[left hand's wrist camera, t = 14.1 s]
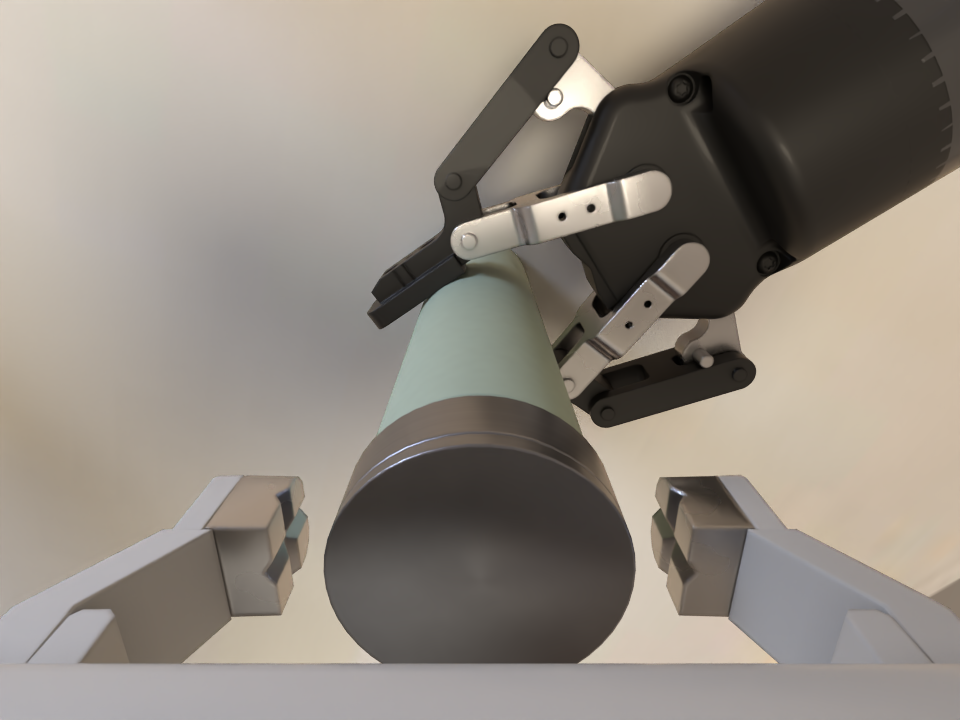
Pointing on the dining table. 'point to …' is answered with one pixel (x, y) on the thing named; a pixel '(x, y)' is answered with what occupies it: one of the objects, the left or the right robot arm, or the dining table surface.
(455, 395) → the mint green cylinder
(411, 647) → the lid
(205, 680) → the left robot arm
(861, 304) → the dining table surface
